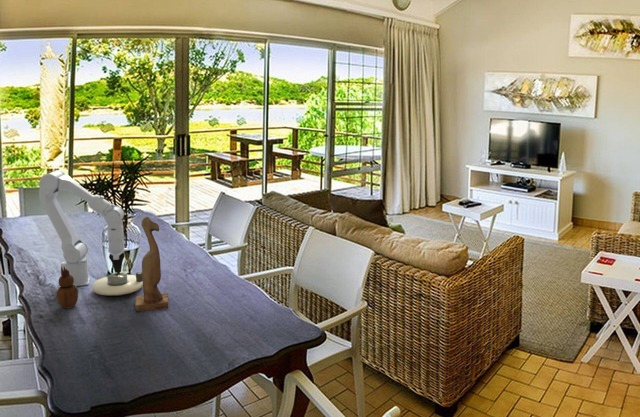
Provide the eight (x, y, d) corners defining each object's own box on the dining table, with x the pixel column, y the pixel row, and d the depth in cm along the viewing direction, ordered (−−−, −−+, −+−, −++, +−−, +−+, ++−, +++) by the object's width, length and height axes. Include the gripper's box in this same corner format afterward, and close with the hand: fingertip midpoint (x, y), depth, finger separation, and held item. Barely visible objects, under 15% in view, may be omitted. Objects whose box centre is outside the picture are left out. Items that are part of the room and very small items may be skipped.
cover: (107, 286, 213) (107, 279, 212) (108, 280, 219) (107, 273, 218) (127, 284, 215) (127, 277, 214) (127, 278, 221) (127, 271, 221)
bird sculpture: (170, 309, 200) (169, 219, 194) (135, 312, 196) (133, 221, 190) (167, 298, 211) (166, 212, 204) (134, 301, 207) (131, 214, 200)
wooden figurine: (65, 311, 197) (61, 269, 193) (54, 307, 200) (50, 266, 196) (82, 304, 202) (78, 264, 199) (72, 301, 205) (68, 261, 202)
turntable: (90, 297, 207) (89, 285, 205) (94, 280, 223) (93, 269, 222) (143, 292, 212) (142, 280, 211) (142, 276, 228) (142, 265, 227)
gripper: (126, 242, 215) (128, 277, 218) (127, 232, 229) (129, 265, 232) (106, 244, 213) (108, 278, 216) (108, 233, 227) (110, 266, 230)
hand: (118, 272), depth 224 cm, fingers closed
